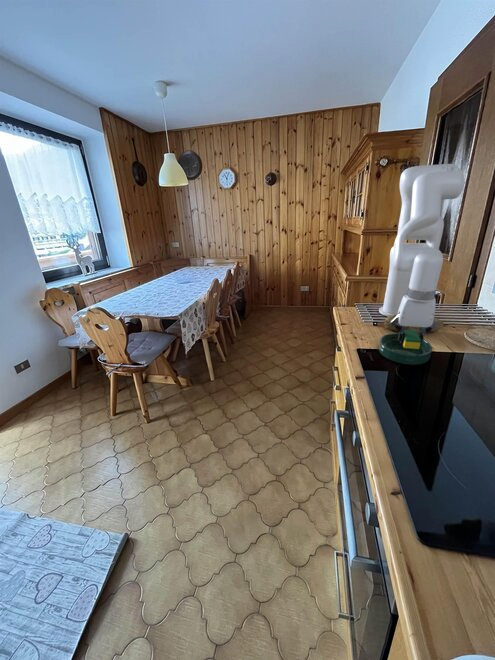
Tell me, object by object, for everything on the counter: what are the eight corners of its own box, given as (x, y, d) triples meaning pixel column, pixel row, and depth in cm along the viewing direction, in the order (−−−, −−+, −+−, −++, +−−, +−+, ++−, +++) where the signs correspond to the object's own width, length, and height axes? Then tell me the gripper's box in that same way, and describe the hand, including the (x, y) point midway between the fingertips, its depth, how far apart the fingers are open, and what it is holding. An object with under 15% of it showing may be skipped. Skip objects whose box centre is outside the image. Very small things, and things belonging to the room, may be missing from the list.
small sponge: (400, 338, 102) (401, 329, 101) (413, 339, 101) (415, 330, 99) (404, 347, 96) (406, 338, 95) (418, 349, 95) (421, 340, 93)
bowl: (375, 340, 109) (377, 331, 108) (422, 344, 105) (424, 334, 103) (381, 363, 95) (383, 353, 94) (435, 368, 91) (438, 358, 89)
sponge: (383, 335, 116) (442, 336, 104) (383, 316, 114) (442, 315, 102) (389, 328, 126) (444, 329, 114) (389, 311, 125) (444, 309, 113)
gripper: (447, 290, 91) (433, 339, 100) (389, 288, 96) (381, 335, 104) (455, 298, 85) (440, 350, 93) (393, 296, 89) (384, 346, 98)
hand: (409, 342), depth 98 cm, fingers closed on small sponge, 4 cm apart
